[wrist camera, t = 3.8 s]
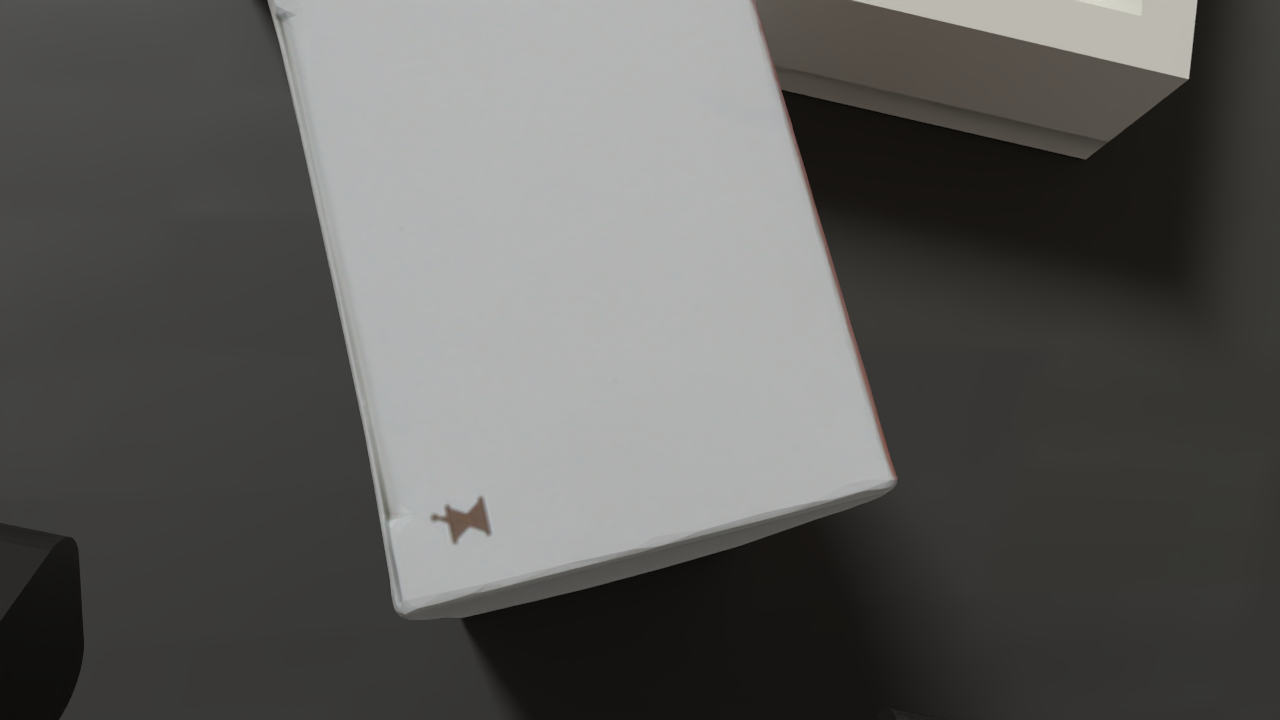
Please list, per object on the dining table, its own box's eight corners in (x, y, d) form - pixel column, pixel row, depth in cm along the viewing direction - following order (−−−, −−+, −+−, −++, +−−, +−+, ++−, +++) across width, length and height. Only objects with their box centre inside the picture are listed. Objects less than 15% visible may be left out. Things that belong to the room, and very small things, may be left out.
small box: (740, 549, 23) (917, 507, 13) (451, 622, 22) (394, 639, 12) (638, 160, 24) (726, -160, 14) (362, 216, 24) (244, -79, 13)
